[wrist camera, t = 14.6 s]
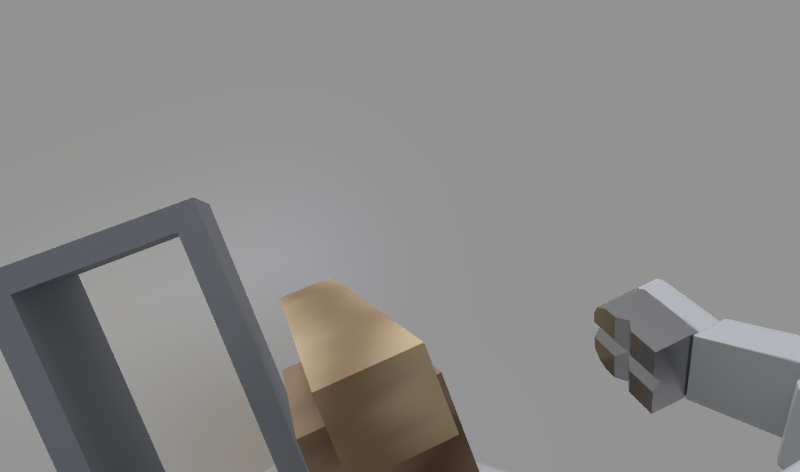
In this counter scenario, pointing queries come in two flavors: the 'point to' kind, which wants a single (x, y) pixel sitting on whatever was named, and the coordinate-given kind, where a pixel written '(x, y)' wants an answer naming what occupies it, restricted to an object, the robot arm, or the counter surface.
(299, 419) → the walnut block
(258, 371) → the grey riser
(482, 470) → the counter surface
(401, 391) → the oak slat
